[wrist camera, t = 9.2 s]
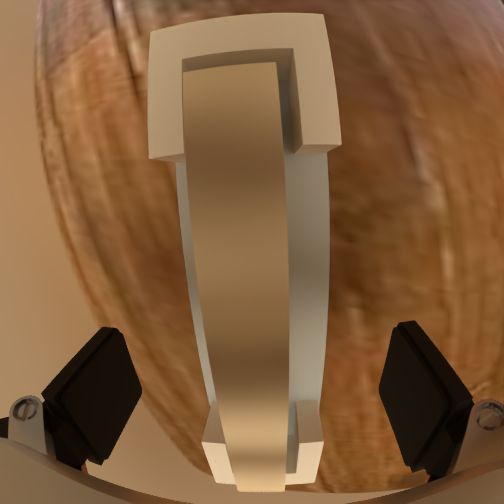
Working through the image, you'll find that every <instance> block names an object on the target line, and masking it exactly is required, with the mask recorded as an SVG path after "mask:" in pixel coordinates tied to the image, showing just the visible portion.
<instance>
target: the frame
mask: <svg viewBox="0 0 504 504" xmlns="http://www.w3.org/2000/svg"><path fill="white" fill-rule="evenodd" d="M269 62H276V67H277V77H278V88H279V99H280V111H281V124H282V137H283V152H284V168H285V186H286V207H287V232H288V264H289V406H288V436H287V458H286V476H285V485H287V484H303V483H314V482H315V478H316V474H317V470H318V466H319V461H320V457H321V452H322V448H323V443H324V439H323V433H322V427H321V421H320V415H319V405H320V397H321V389H322V380H323V370H324V359H325V348H326V334H327V319H328V299H329V268H330V211H329V180H328V161H327V152H328V151H330V150H332V149H334V148H336V147H338V146H340V145H342V142H341V130H340V119H339V109H338V101H337V92H336V85H335V77H334V71H333V64H332V58H331V52H330V46H329V41H328V35H327V30H326V25H325V21H324V16H323V14H312V13H262V14H246V15H236V16H227V17H219V18H212V19H206V20H200V21H194V22H189V23H184V24H180V25H175V26H171V27H167V28H163V29H159V30H155V31H152V32H151V33H150V47H149V65H148V146H149V159H154V160H161V161H167V162H173V163H175V168H176V182H177V195H178V207H179V217H180V227H181V237H182V245H183V254H184V262H185V270H186V277H187V284H188V291H189V298H190V305H191V311H192V317H193V323H194V329H195V335H196V340H197V346H198V351H199V357H200V362H201V367H202V372H203V377H204V382H205V386H206V391H207V395H208V400H209V404H210V411H209V415H208V419H207V423H206V427H205V431H204V434H203V438H202V445H203V448H204V451H205V454H206V456H207V459H208V462H209V465H210V468H211V470H212V473H213V476H214V478H215V481H216V483H224V484H236V482H235V478H234V474H233V470H232V466H231V462H230V458H229V454H228V450H227V446H226V442H225V437H224V433H223V428H222V424H221V419H220V414H219V410H218V405H217V400H216V395H215V390H214V384H213V379H212V374H211V368H210V363H209V357H208V351H207V345H206V339H205V333H204V326H203V320H202V313H201V306H200V299H199V292H198V284H197V276H196V268H195V260H194V251H193V242H192V232H191V222H190V211H189V200H188V187H187V173H186V157H185V138H184V111H183V72H188V71H194V70H200V69H206V68H213V67H221V66H230V65H240V64H252V63H269Z"/></svg>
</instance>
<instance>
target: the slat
mask: <svg viewBox="0 0 504 504" xmlns="http://www.w3.org/2000/svg"><path fill="white" fill-rule="evenodd" d="M183 111H184V138H185V157H186V173H187V187H188V200H189V211H190V222H191V232H192V242H193V251H194V260H195V268H196V276H197V284H198V292H199V299H200V306H201V313H202V320H203V326H204V333H205V339H206V345H207V351H208V357H209V363H210V368H211V374H212V379H213V384H214V390H215V395H216V400H217V405H218V410H219V414H220V419H221V424H222V428H223V433H224V437H225V442H226V446H227V450H228V454H229V458H230V462H231V466H232V470H233V474H234V478H235V482H236V485H237V489H238V491H243V492H283V491H285V476H286V458H287V436H288V406H289V264H288V232H287V207H286V186H285V168H284V152H283V137H282V124H281V111H280V99H279V88H278V77H277V67H276V62H269V63H252V64H240V65H230V66H221V67H213V68H206V69H200V70H194V71H188V72H183Z"/></svg>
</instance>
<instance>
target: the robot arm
mask: <svg viewBox="0 0 504 504" xmlns="http://www.w3.org/2000/svg"><path fill="white" fill-rule="evenodd" d="M41 394H42V396H43V398H44V399H45V401H44V402H43V403H42V402H41V400H40V399H39V398H38V397H36V396H31V395H30V396H24V397H21V398H20V399H18V400H16V401H15V402H14V404H13V405H12V406H11V408H10V412H9V417H6V418H2V419H0V504H191V503H185V502H180V501H174V500H170V499H165V498H161V497H157V496H153V495H149V494H145V493H141V492H138V491H134V490H131V489H128V488H124V487H121V486H118V485H115V484H113V483H109V482H107V481H104V480H101V479H98V478H96V477H94V476H91V475H89V474H88V471H87V468H86V464H85V461H86V460H87V459H88V460H89V461H90V462H93V463H95V464H98V465H102V464H103V461H104V460H106V459H108V458H109V456H110V454H111V452H112V450H113V448H114V446H115V444H116V442H117V441H118V438H119V437H120V435H121V433H122V431H123V429H124V427H125V425H126V423H127V421H128V419H129V418H130V415H131V414H132V412H133V410H134V408H135V406H136V404H137V402H138V401H139V399H140V397H141V395H142V387H141V384H140V381H139V379H138V376H137V374H136V371H135V368H134V365H133V363H132V360H131V357H130V354H129V351H128V348H127V345H126V342H125V339H124V336H123V334H122V333H121V332H120V331H119V330H118V329H117V328H110V327H102V328H101V329H100V330H99V331H98V332H97V333H96V334H95V335H94V336H93V337H92V338H91V339H90V340H89V341H88V342H87V343H86V344H85V346H83V347H82V349H81V350H80V351H79V352H78V353H77V354H76V355H75V356H74V357H73V358H72V359H71V360H70V361H69V363H68V364H67V365H66V366H65V367H64V368H63V369H62V370H61V371H60V373H59V374H58V375H57V376H56V377H55V378H54V379H53V380H52V381H51V383H50V384H49V385H48V386H47V387H46V388H45V389H44V391H43V392H42V393H41ZM379 394H380V397H381V400H382V402H383V405H384V407H385V410H386V413H387V415H388V418H389V421H390V423H391V426H392V429H393V431H394V434H395V437H396V440H397V443H398V445H399V448H400V451H401V454H402V457H403V460H404V463H405V465H406V466H410V468H411V471H412V473H413V472H416V471H420V470H422V469H425V470H426V472H427V477H426V479H425V481H424V483H423V485H420V486H417V487H414V488H411V489H408V490H404V491H401V492H397V493H394V494H390V495H385V496H382V497H377V498H373V499H369V500H364V501H359V502H353V503H348V504H504V404H502V403H501V402H499V401H497V400H494V399H483V400H480V401H478V402H477V403H476V404H474V403H473V401H472V398H473V397H472V395H471V394H470V392H469V391H468V390H467V388H466V387H465V385H464V384H463V382H462V381H461V380H460V378H459V377H458V375H457V374H456V373H455V371H454V370H453V369H452V367H451V366H450V364H449V363H448V362H447V360H446V359H445V358H444V356H443V355H442V354H441V353H440V351H439V350H438V349H437V347H436V346H435V345H434V343H433V342H432V341H431V340H430V338H429V337H428V336H427V335H426V333H425V332H424V331H423V330H422V328H421V327H420V326H419V325H418V324H417V322H416V321H407V322H400V323H398V325H397V327H395V328H393V331H392V335H391V340H390V344H389V349H388V353H387V357H386V362H385V365H384V369H383V373H382V377H381V381H380V384H379Z"/></svg>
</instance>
